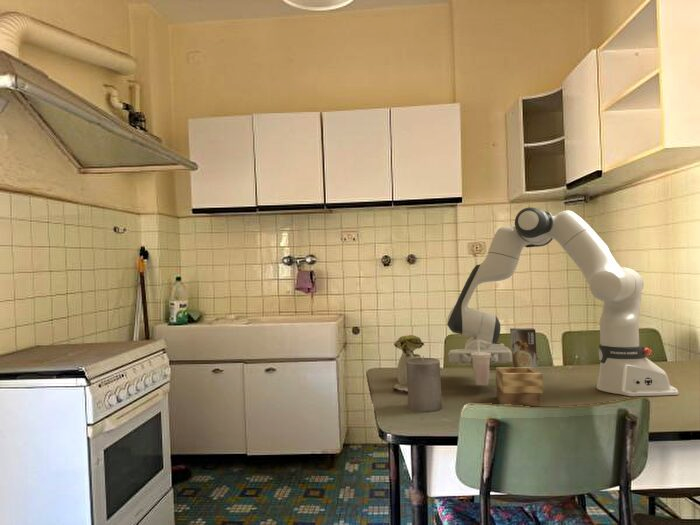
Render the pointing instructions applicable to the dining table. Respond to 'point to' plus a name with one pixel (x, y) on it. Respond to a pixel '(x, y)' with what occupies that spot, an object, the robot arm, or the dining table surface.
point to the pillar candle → (424, 384)
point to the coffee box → (523, 347)
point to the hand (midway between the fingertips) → (481, 359)
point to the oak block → (519, 380)
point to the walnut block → (519, 398)
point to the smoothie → (481, 366)
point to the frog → (405, 357)
